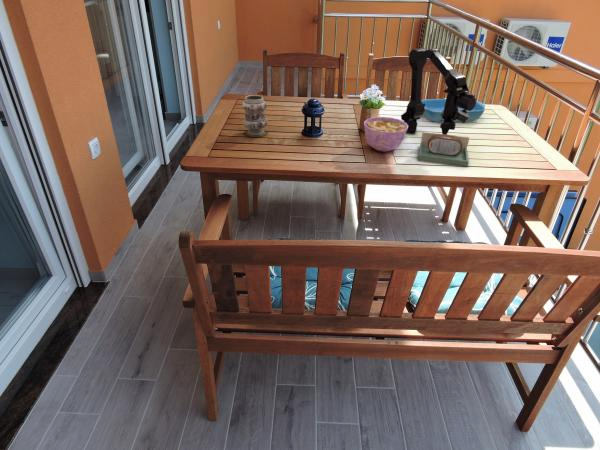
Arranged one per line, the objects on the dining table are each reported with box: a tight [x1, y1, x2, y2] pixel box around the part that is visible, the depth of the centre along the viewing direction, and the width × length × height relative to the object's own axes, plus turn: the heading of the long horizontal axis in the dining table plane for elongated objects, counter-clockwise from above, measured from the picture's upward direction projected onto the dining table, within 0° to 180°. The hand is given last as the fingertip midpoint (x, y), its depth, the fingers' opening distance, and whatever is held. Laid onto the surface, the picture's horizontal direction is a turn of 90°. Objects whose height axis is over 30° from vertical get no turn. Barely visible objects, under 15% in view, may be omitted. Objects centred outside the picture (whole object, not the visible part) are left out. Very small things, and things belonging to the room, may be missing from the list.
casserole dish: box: [421, 98, 486, 123], centre depth 232 cm, size 37×22×7 cm, turn 97°
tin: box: [427, 135, 462, 156], centre depth 187 cm, size 15×3×8 cm, turn 73°
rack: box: [418, 131, 470, 168], centre depth 187 cm, size 21×16×8 cm
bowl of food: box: [363, 116, 408, 153], centre depth 192 cm, size 20×20×12 cm
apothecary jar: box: [241, 94, 269, 138], centre depth 203 cm, size 12×12×18 cm
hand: (444, 137), depth 196 cm, fingers closed
